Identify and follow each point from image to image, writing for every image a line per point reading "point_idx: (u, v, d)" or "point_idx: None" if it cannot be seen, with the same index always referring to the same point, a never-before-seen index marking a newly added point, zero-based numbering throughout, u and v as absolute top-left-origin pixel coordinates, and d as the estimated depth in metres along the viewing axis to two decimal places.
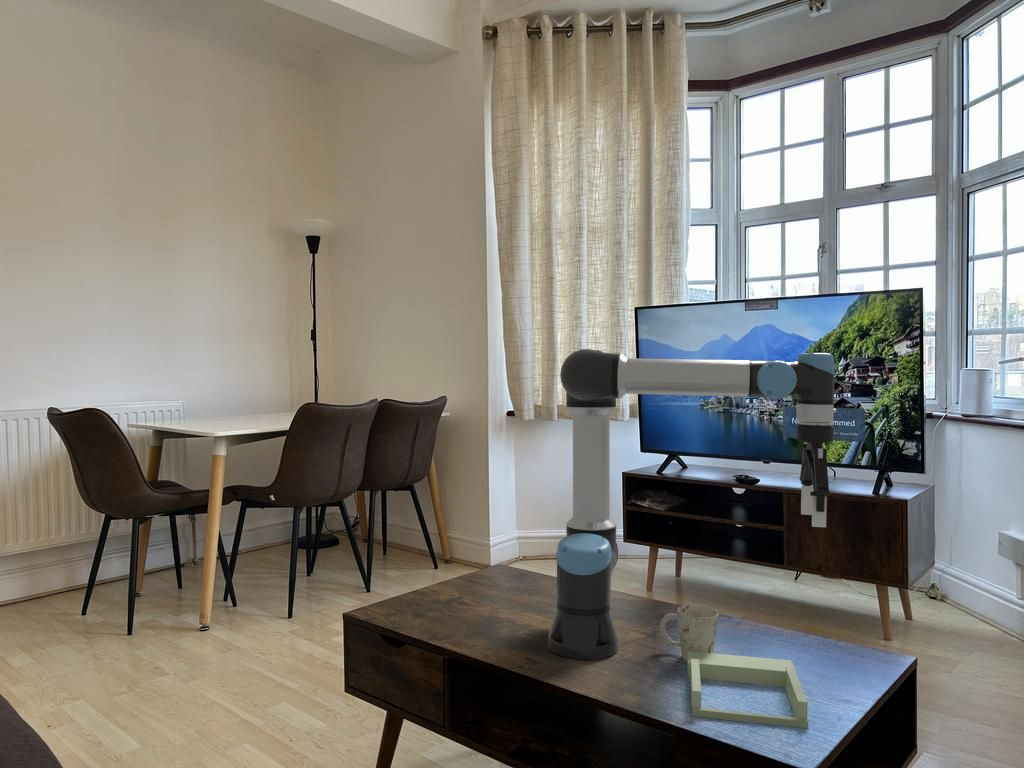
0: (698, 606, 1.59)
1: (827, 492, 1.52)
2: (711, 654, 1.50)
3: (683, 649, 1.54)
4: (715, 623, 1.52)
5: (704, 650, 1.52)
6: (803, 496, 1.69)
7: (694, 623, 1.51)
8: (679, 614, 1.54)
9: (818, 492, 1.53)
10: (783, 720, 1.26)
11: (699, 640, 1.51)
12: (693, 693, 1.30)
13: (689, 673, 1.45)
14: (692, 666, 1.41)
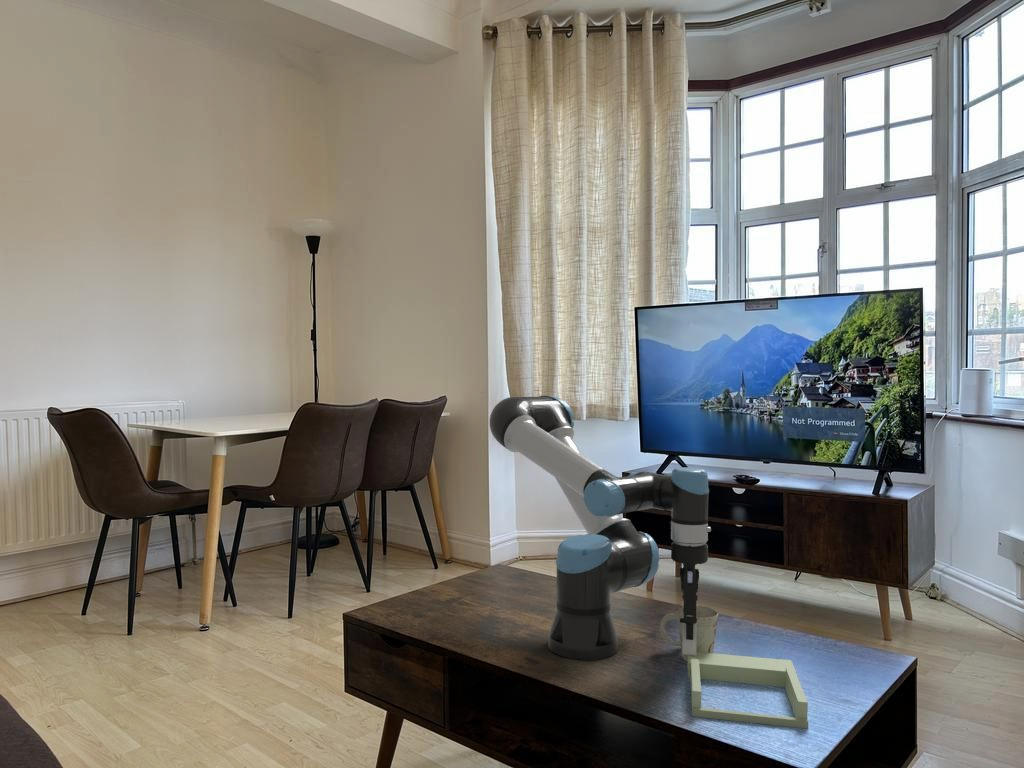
0: (698, 606, 1.59)
1: (694, 621, 1.46)
2: (711, 654, 1.50)
3: None
4: (715, 623, 1.52)
5: (704, 650, 1.52)
6: None
7: None
8: (679, 614, 1.54)
9: (685, 620, 1.46)
10: (783, 720, 1.26)
11: (699, 640, 1.51)
12: (693, 693, 1.30)
13: (689, 673, 1.45)
14: (692, 666, 1.41)
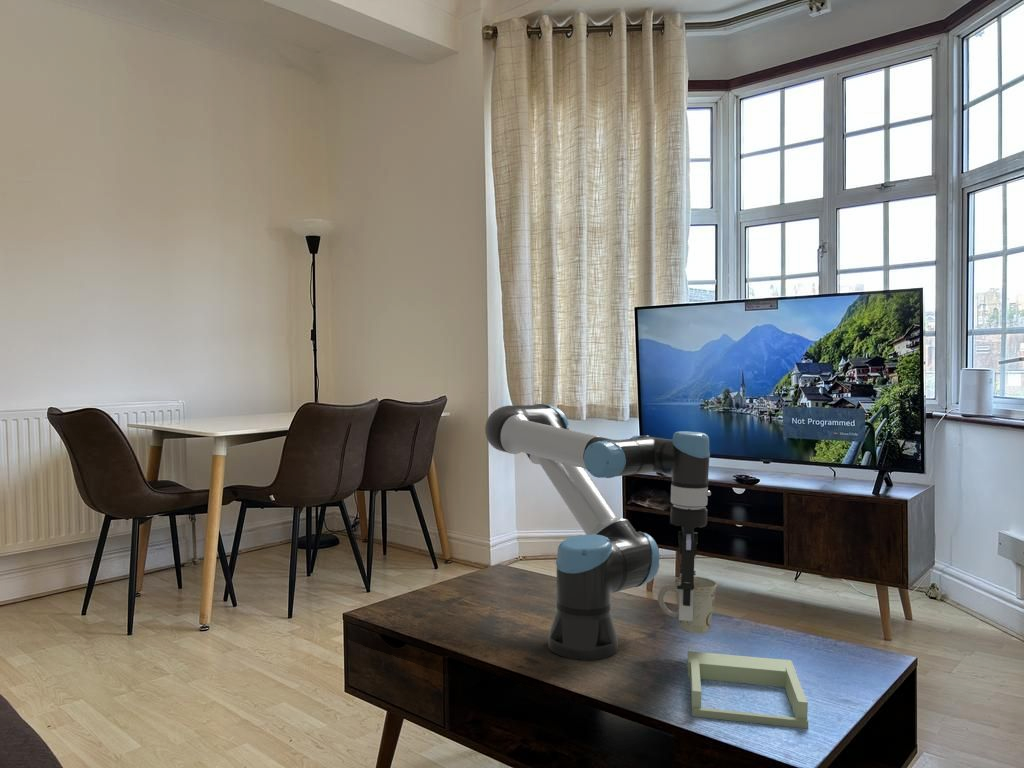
0: (696, 577, 1.60)
1: (691, 588, 1.48)
2: (711, 654, 1.50)
3: None
4: (713, 593, 1.53)
5: (702, 620, 1.53)
6: None
7: None
8: (677, 584, 1.55)
9: (683, 587, 1.49)
10: (783, 720, 1.26)
11: (697, 609, 1.52)
12: (693, 693, 1.30)
13: (689, 673, 1.45)
14: (692, 666, 1.41)
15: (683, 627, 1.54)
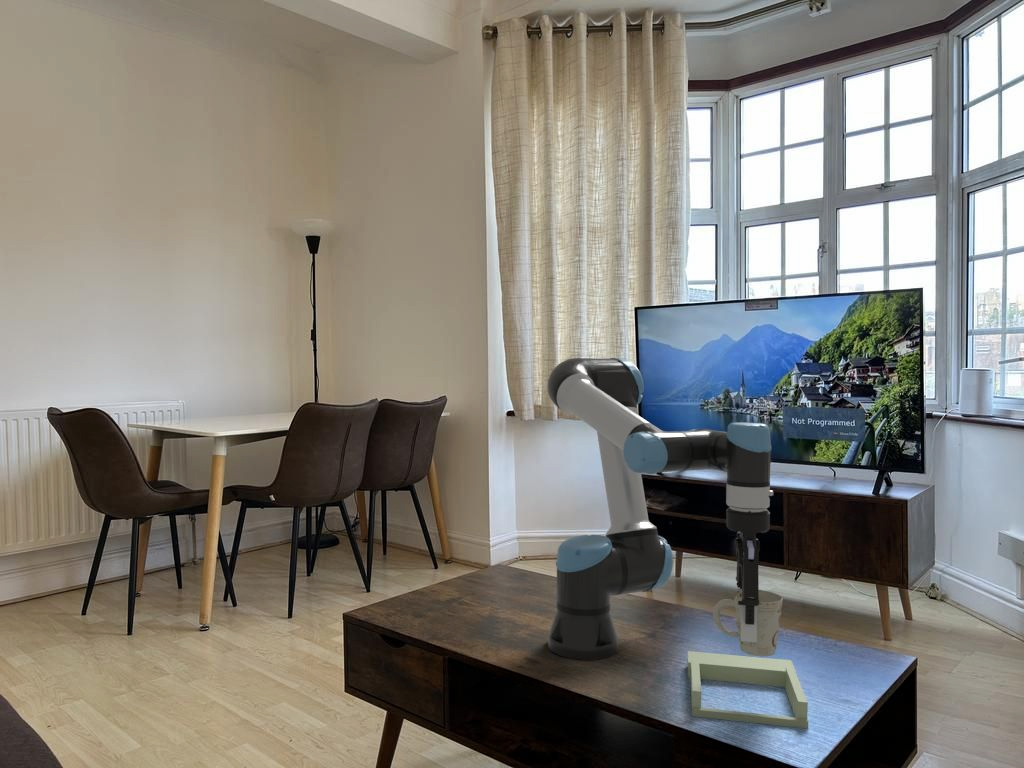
0: None
1: (756, 603, 1.27)
2: (711, 654, 1.50)
3: None
4: (780, 609, 1.32)
5: (767, 640, 1.31)
6: None
7: None
8: (737, 599, 1.34)
9: (746, 603, 1.28)
10: (783, 720, 1.26)
11: (762, 628, 1.31)
12: (693, 693, 1.30)
13: (689, 673, 1.45)
14: (692, 666, 1.41)
15: (745, 649, 1.33)
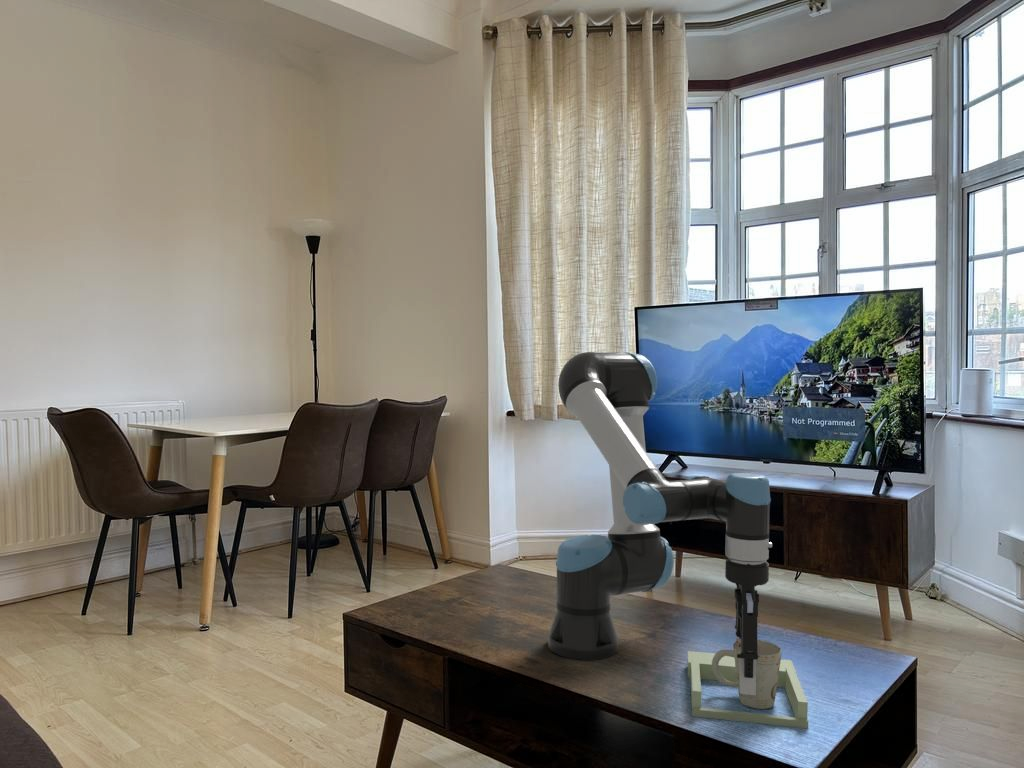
0: None
1: (755, 658, 1.27)
2: (711, 654, 1.50)
3: None
4: (778, 661, 1.32)
5: (766, 693, 1.32)
6: None
7: None
8: (736, 650, 1.34)
9: (745, 657, 1.28)
10: (783, 720, 1.26)
11: (760, 681, 1.31)
12: (693, 693, 1.30)
13: (689, 673, 1.45)
14: (692, 666, 1.41)
15: (744, 700, 1.33)
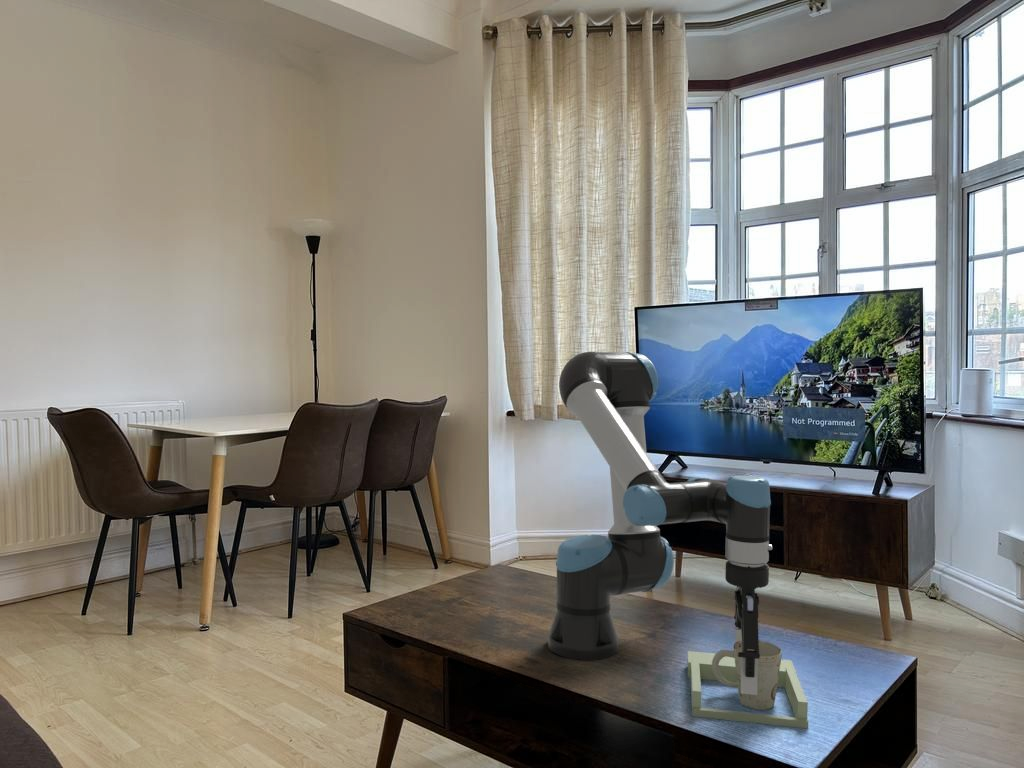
0: None
1: (757, 656, 1.25)
2: (711, 654, 1.50)
3: None
4: (779, 662, 1.32)
5: (766, 694, 1.31)
6: None
7: None
8: (737, 651, 1.34)
9: (746, 656, 1.26)
10: (783, 720, 1.26)
11: (761, 682, 1.31)
12: (693, 693, 1.30)
13: (689, 673, 1.45)
14: (692, 666, 1.41)
15: (744, 701, 1.33)
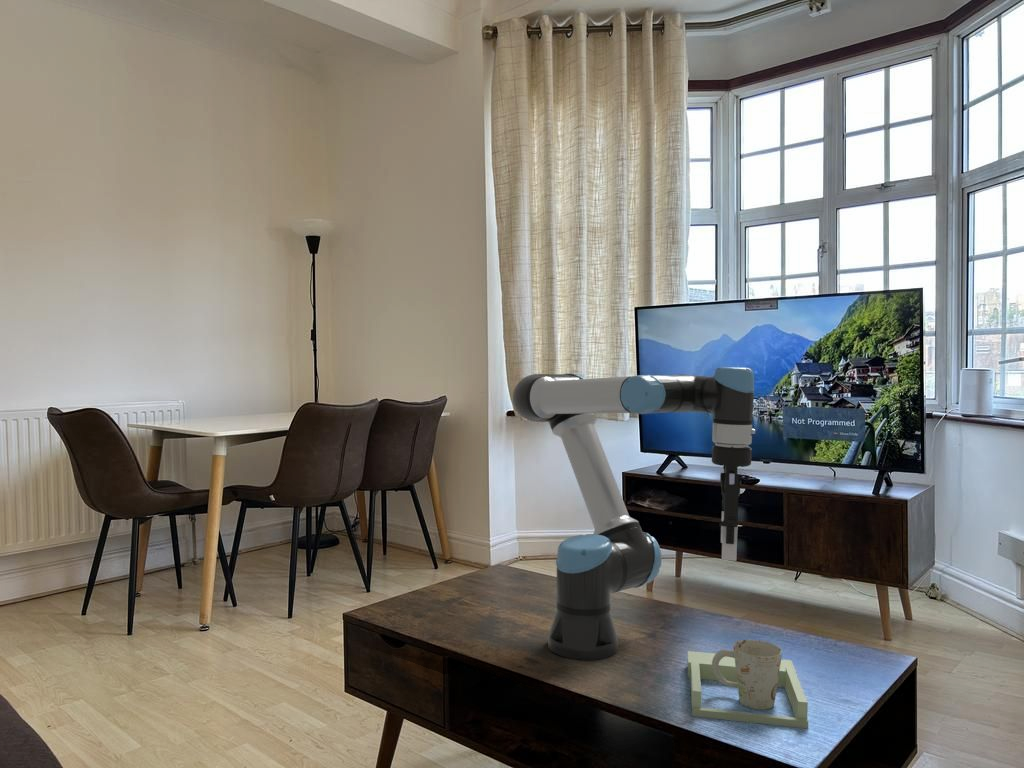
0: (756, 641, 1.38)
1: (736, 523, 1.38)
2: (711, 654, 1.50)
3: (741, 692, 1.34)
4: (779, 662, 1.32)
5: (766, 694, 1.31)
6: None
7: (755, 663, 1.31)
8: (737, 651, 1.34)
9: (726, 523, 1.38)
10: (783, 720, 1.26)
11: (761, 682, 1.31)
12: (693, 693, 1.30)
13: (689, 673, 1.45)
14: (692, 666, 1.41)
15: (744, 701, 1.33)
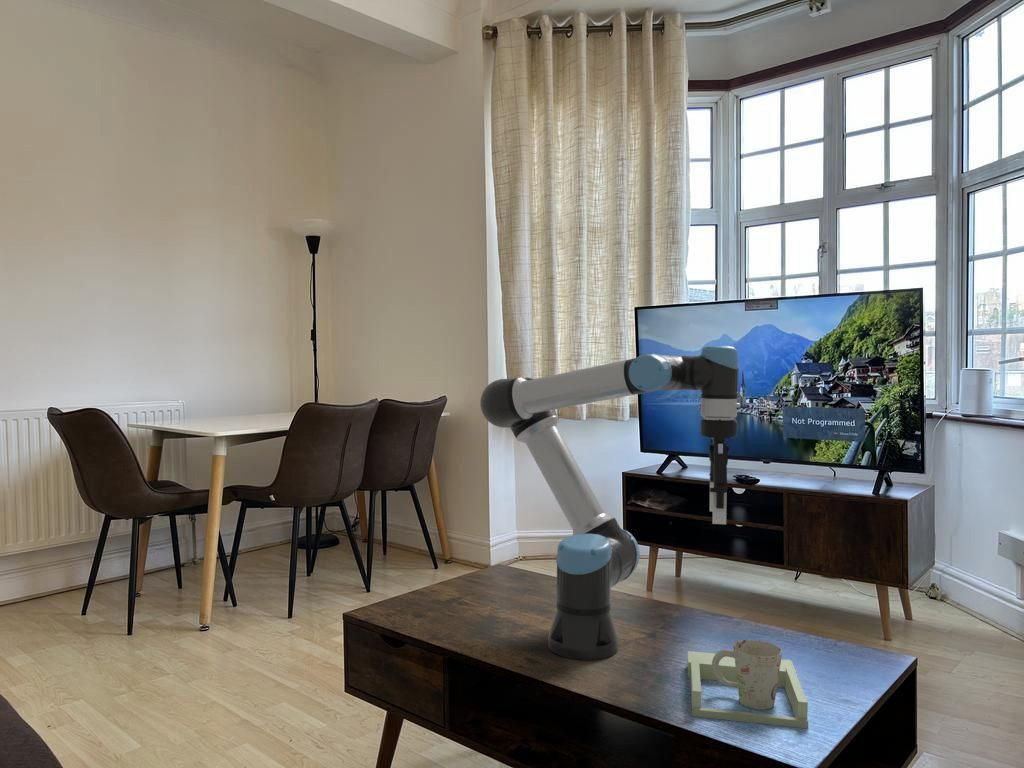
0: (756, 641, 1.38)
1: (725, 488, 1.49)
2: (711, 654, 1.50)
3: (741, 692, 1.34)
4: (779, 662, 1.32)
5: (766, 694, 1.31)
6: (711, 493, 1.66)
7: (755, 663, 1.31)
8: (737, 651, 1.34)
9: (716, 488, 1.49)
10: (783, 720, 1.26)
11: (761, 682, 1.31)
12: (693, 693, 1.30)
13: (689, 673, 1.45)
14: (692, 666, 1.41)
15: (744, 701, 1.33)
